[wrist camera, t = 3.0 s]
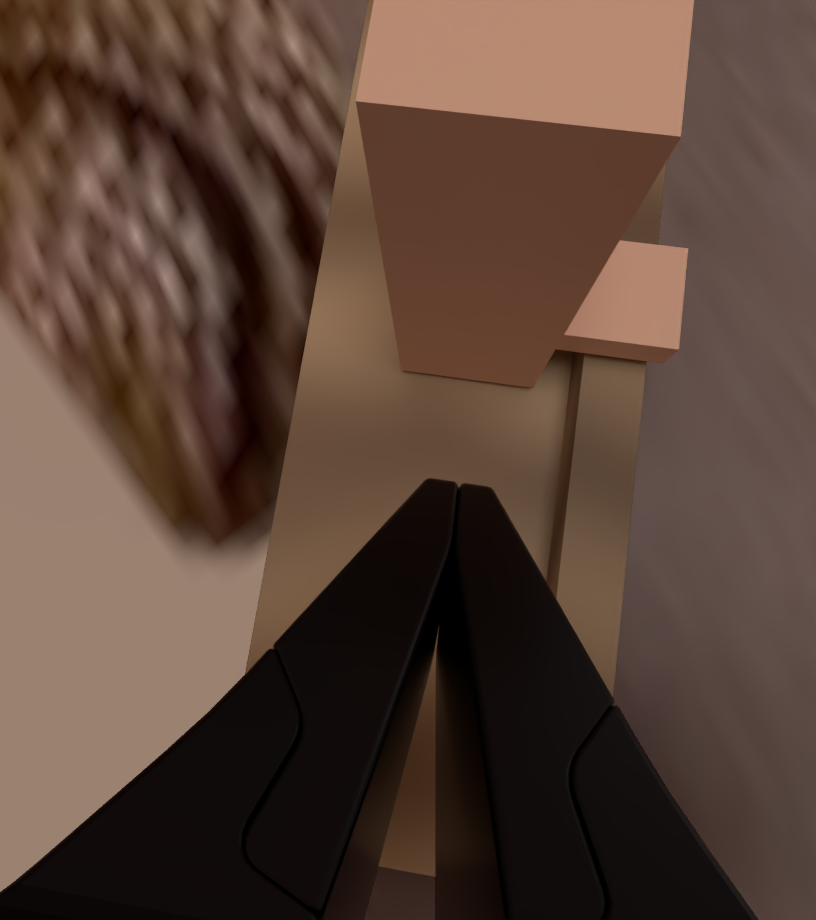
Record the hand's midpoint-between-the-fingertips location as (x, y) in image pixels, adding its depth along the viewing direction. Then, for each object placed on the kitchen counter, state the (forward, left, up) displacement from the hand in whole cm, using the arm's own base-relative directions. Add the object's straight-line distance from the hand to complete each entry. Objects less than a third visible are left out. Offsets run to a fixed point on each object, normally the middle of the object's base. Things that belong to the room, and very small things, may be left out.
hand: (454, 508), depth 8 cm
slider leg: (+6, +2, -8) cm, 10 cm away
